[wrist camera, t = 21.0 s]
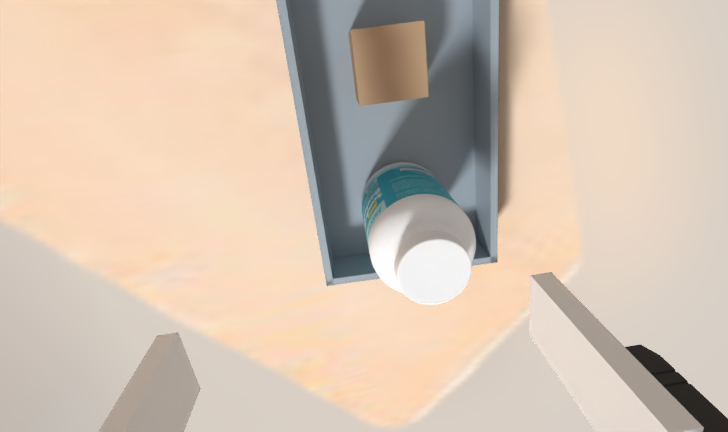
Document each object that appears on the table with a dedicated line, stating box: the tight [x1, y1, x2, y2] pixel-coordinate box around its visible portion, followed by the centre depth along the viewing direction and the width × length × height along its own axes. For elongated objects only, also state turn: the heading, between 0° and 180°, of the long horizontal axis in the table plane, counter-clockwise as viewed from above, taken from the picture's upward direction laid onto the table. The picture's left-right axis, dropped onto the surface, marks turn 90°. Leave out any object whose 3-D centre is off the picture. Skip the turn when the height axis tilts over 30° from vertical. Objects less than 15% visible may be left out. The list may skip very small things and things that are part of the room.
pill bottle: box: [361, 162, 476, 305], centre depth 31 cm, size 8×7×14 cm
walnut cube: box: [348, 21, 429, 106], centre depth 30 cm, size 5×5×5 cm
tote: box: [276, 0, 499, 286], centre depth 32 cm, size 27×15×4 cm, turn 7°
